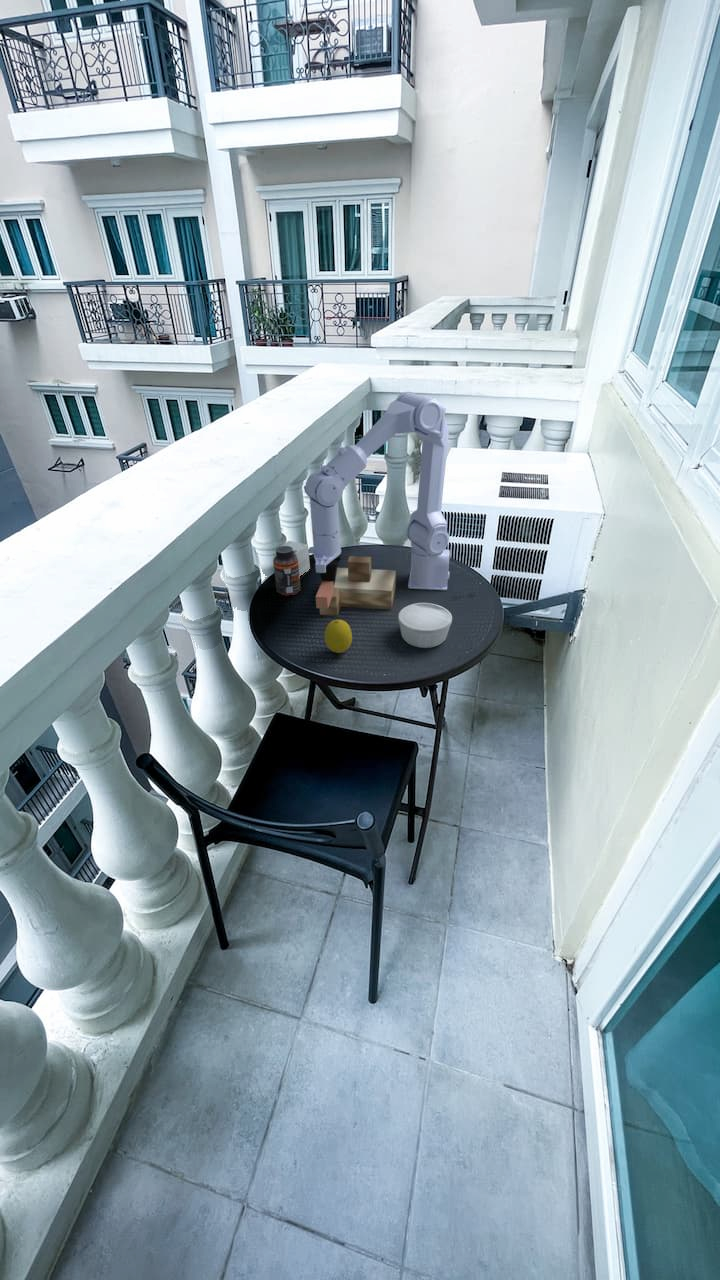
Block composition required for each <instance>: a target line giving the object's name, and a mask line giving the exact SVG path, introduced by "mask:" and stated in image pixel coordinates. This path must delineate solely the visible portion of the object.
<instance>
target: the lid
mask: <svg viewBox="0 0 720 1280" xmlns="http://www.w3.org/2000/svg"><path fill="white" fill-rule="evenodd" d="M396 570H397V569H396ZM396 570H394V569H393V570H391V569H375V568H374V569H373V568H372V557H371V556H357V555H356V556H355V555H351V556H350V555H349V557H348V559H347V567H337V573H336V580H335V585H334V587H335V588H339V589H340V592H350V593H369V594H389V595H392V591H393V586H394V581H395V576H396V577H397V574H396V573H397V571H396Z"/></svg>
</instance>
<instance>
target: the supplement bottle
mask: <svg viewBox="0 0 720 1280" xmlns="http://www.w3.org/2000/svg"><path fill="white" fill-rule="evenodd" d="M275 555H276V556H275V557H274V558H273V560H272V562H273V564H272V565H273V572H274V573H273V574H274V580H275V589H276V593H277V592H278V593H280V594H282V595H285V596H284V597H290V596H289V595H293V596H295V595H297V594H299V593H300V592H299V591H301V578H300V577H299V565H298V558H297V557H296V556H295V555H294V554H293V548H292V547H290V546H282V545H281V546H279V547H277V548H276V549H275ZM298 592H299V593H298ZM278 593H277V594H278ZM280 594H279V595H280ZM282 595H281V596H282Z"/></svg>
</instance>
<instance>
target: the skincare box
mask: <svg viewBox="0 0 720 1280" xmlns="http://www.w3.org/2000/svg"><path fill="white" fill-rule="evenodd" d="M281 546H290V547H292V548H293V554H294V555H295V556H296V557H297V558H298V565H299V577H300V576H301V575H303V574H304V573H305V572H306V573H307V572H309V569H310V570H311V565H310V553H309V551H308V550H309V545H308V544H306V543H301V542H296V541H291V540H287V542H285V543H284V544H282V545H281ZM306 573H305V574H306ZM305 574H304V575H305ZM304 575H303V576H304Z"/></svg>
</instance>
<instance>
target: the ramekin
mask: <svg viewBox="0 0 720 1280" xmlns="http://www.w3.org/2000/svg"><path fill="white" fill-rule="evenodd" d="M397 622H398V623H399V629H400V635H401V637H402V639H403V640H404V641H405V642H406V643H407V644H409V645H410V646H411V647H415V648H420V649H431V648H436V647H437V646H439V645H441V644H442V643H444V642H445V640H447V637H448V634H449V630H450V627H451V625H452V622H453V616H452V613H451V612H450V611H449V610H448V609H446V608H445V607H443V606H441V605H438V604H436V603H431V602H430V603H429V602H417V603H412V604H409V605H407V606H405V607H403V608H402V609H400V611H399V612H398V615H397Z"/></svg>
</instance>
